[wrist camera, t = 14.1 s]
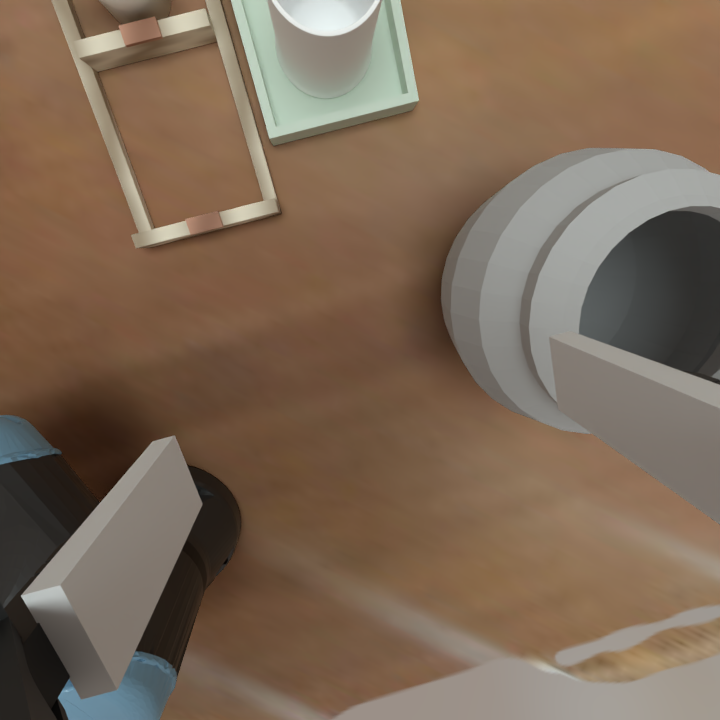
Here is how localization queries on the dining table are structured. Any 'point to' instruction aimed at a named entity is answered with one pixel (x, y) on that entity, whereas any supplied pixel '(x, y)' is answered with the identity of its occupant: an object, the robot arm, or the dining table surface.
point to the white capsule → (137, 9)
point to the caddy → (149, 43)
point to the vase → (586, 271)
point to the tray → (318, 115)
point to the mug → (324, 42)
